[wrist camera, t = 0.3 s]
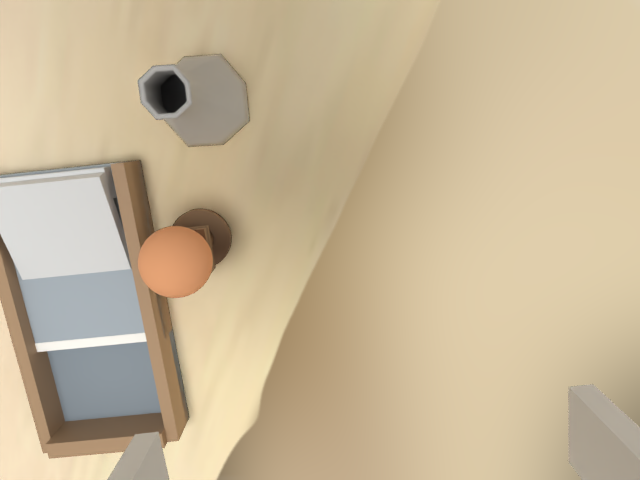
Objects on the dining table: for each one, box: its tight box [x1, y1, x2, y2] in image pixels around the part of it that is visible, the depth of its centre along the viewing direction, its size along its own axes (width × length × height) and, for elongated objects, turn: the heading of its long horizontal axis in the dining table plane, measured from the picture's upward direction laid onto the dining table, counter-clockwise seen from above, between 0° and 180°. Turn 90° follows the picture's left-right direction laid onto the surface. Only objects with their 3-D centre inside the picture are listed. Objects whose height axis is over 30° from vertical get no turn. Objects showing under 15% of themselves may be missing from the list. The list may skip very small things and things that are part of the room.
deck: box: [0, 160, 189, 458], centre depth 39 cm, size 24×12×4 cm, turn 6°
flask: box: [138, 54, 249, 147], centre depth 32 cm, size 7×7×10 cm
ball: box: [138, 226, 213, 298], centre depth 33 cm, size 5×5×5 cm
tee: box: [173, 209, 232, 273], centre depth 37 cm, size 5×5×5 cm
